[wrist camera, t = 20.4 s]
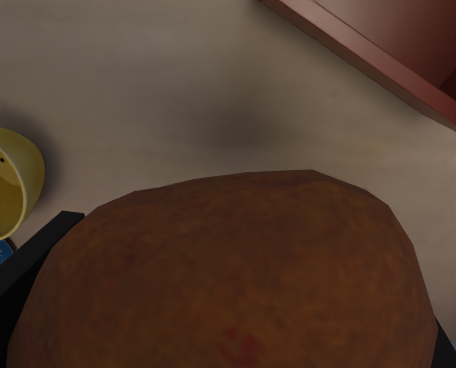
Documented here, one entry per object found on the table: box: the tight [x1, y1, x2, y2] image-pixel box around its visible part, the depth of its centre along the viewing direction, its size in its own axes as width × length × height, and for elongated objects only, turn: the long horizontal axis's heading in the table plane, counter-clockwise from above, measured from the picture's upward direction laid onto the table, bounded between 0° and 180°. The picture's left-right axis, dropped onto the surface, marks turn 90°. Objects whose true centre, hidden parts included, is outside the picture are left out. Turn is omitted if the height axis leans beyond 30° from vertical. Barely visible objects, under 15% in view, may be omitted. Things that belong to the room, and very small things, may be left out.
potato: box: [6, 170, 438, 368], centre depth 9 cm, size 8×11×8 cm
